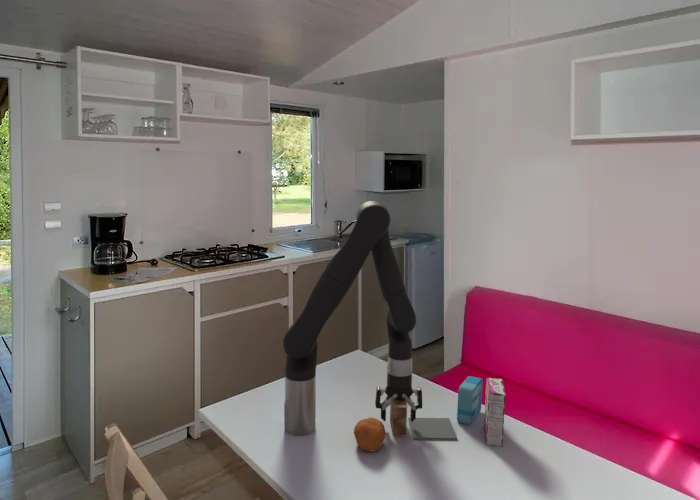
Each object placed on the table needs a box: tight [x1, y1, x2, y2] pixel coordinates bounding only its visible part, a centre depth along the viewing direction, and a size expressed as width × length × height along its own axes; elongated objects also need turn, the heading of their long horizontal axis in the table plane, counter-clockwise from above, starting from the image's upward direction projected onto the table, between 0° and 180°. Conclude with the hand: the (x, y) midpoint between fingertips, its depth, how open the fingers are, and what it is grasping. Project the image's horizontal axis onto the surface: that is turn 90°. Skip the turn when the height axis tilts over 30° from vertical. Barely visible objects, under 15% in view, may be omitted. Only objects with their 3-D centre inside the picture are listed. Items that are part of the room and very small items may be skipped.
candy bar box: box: [483, 377, 506, 448], centre depth 152 cm, size 11×5×16 cm, turn 168°
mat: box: [407, 417, 458, 441], centre depth 157 cm, size 13×12×1 cm
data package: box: [456, 375, 484, 426], centre depth 164 cm, size 12×4×12 cm, turn 150°
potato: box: [353, 417, 387, 452], centre depth 147 cm, size 9×11×8 cm
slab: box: [389, 400, 408, 437], centre depth 156 cm, size 4×9×10 cm, turn 1°
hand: (398, 420), depth 157 cm, fingers open, 8 cm apart
